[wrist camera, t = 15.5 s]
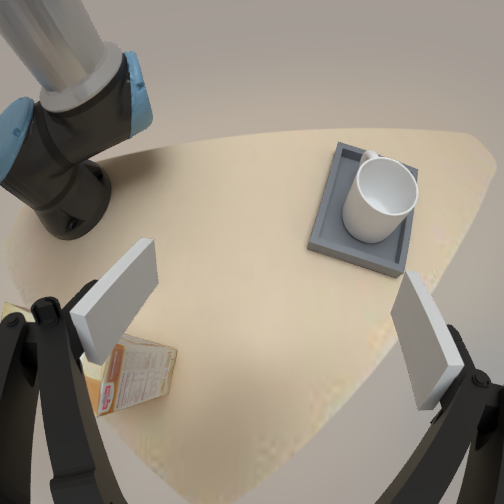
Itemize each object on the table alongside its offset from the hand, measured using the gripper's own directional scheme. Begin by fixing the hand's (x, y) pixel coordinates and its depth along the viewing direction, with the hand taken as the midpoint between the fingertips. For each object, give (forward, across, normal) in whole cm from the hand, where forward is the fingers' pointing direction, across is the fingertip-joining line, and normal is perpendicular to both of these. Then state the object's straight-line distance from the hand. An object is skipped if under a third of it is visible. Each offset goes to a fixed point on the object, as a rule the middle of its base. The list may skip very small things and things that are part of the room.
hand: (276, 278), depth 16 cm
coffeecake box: (+13, -20, -26) cm, 35 cm away
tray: (+32, +12, -6) cm, 35 cm away
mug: (+32, +12, -6) cm, 34 cm away
